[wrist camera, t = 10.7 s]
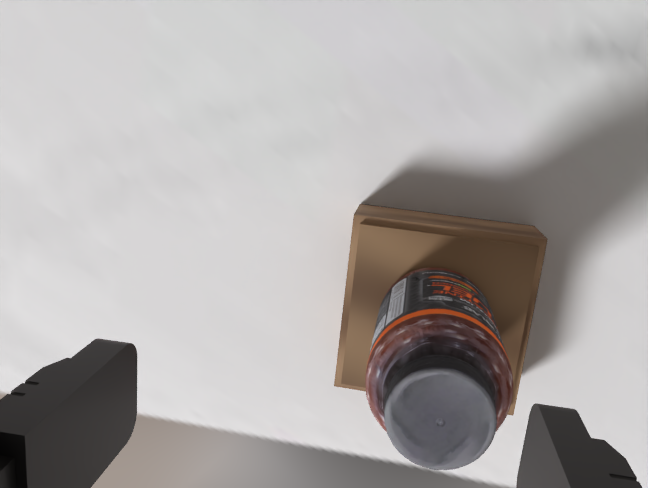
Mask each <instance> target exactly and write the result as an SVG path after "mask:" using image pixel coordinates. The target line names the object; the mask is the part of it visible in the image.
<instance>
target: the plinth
mask: <svg viewBox="0 0 648 488" xmlns="http://www.w3.org/2000/svg"><path fill="white" fill-rule="evenodd" d="M546 244H547V238H546V237H545V236H544V235H543V234H542V233H541V232H540V231H539V230H538V229H537V228H536V227H535V226H530V225H522V224H514V223H506V222H498V221H490V220H482V219H475V218H467V217H459V216H451V215H443V214H435V213H427V212H419V211H411V210H403V209H395V208H387V207H379V206H371V205H363V204H360V205H359V207H358V209H357V210H356V212H355V214H354V219H353V227H352V236H351V245H350V253H349V262H348V271H347V279H346V288H345V297H344V305H343V314H342V322H341V331H340V340H339V348H338V357H337V366H336V374H335V383H334V386H337V387H343V388H349V389H355V390H361V391H366V387H365V376H366V369H367V364H368V358H369V354H370V349H371V345H372V340H373V335H374V330H375V326H376V322H377V317H378V313H379V309H380V305H381V303H382V301H383V298H384V296H385V294H386V293H387V291H388V290H389V288H390V287H391V286H392V285H393V284H394V283H395V282H396V281H397V280H398V279H400V278H401V277H403V276H405V275H406V274H408V273H410V272H412V271H415V270H418V269H421V268H445V269H449V270H453V271H456V272H458V273H460V274H462V275H464V276H465V277H467V278H469V279H470V280H471V281H472V282H473V283H474V284H475V285H476V286H478V287H479V289H480V290H481V291H482V293H483V294H484V296H485V297H486V299H487V301H488V303H489V305H490V307H491V310H492V313H493V316H494V319H495V322H496V325H497V328H498V331H499V334H500V336H501V339H502V342H503V345H504V348H505V350H506V353H507V356H508V359H509V363H510V366H511V369H512V375H513V397H512V402H511V405H510V409H509V412H508V413H507V414H508V415H513V414H514V409H515V404H516V399H517V394H518V388H519V383H520V378H521V373H522V368H523V363H524V358H525V352H526V347H527V342H528V337H529V332H530V327H531V321H532V316H533V311H534V306H535V301H536V296H537V291H538V285H539V280H540V275H541V270H542V265H543V260H544V255H545V249H546Z"/></svg>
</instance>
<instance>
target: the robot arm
mask: <svg viewBox="0 0 648 488" xmlns="http://www.w3.org/2000/svg"><path fill="white" fill-rule="evenodd" d="M136 415H137V351H136V348H135V346H134V345H133V344H131V343H125V342H118V341H111V340H104V339H95V340H94V341H92V342H91V343H90V344H89V345H87V346H86V347H85V348H83V349H82V350H81V351H80V352H78V353H77V354H76V355H75V356H73V357H72V358H66V359H63V360H61V361H58V362H56V363H53V364H51V365H48V366H46V367H43V368H42V369H40V370H39V371H38V372H36V373H35V374H34V375H32V376H31V377H30V378H28V379H27V380H26V382H25V384H24V383H22V384H20V385H19V386H18V387H16V388H15V389H14V390H12V391H11V394H7V395H6V396H4V397H3V398H2V399H1V400H0V488H91V487H92V485H93V484H94V483H95V482H96V480H97V479H98V478H99V477H100V475H101V474H102V473H103V472H104V471H105V469H106V468H107V467H108V465H109V464H110V463H111V462H112V461H113V459H114V458H115V457H116V456H117V455H118V453H119V452H120V451H121V450H122V448H123V447H124V446H125V445H126V443H127V442H128V440H129V438H130V437H131V434H132V432H133V429H134V425H135V421H136ZM636 479H637V478H636V476H635V474H634V472H633V471H632V469H631V467H630V465H629V464H628V462H627V460H626V458H624V457H623V456H622V455H621V454H620V453H619V452H617V451H616V450H615V449H614V448H613V447H612V446H611V445H609V444H608V443H607V442H606V441H605V440H600V439H594V438H591V437H590V435H589V433H588V431H587V429H586V428H585V426H584V424H583V422H582V420H581V418H580V416H579V414H578V412H577V411H576V410H575V409H569V408H563V407H556V406H549V405H542V404H534V405H533V406H532V409H531V411H530V415H529V420H528V425H527V430H526V435H525V440H524V445H523V450H522V455H521V461H520V466H519V471H518V477H517V488H642V486H641V485H640V483H639V482H637V481H636Z"/></svg>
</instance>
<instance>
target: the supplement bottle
mask: <svg viewBox="0 0 648 488" xmlns="http://www.w3.org/2000/svg"><path fill="white" fill-rule="evenodd" d="M365 387H366V395H367V400H368V403H369V405H370V408H371V411H372V413H373V415H374V417H375V418H376V420H377V421H378V422H379V424H380V425H381V426H382V428H383V429H384V430H385V431H386V432H387V434H388V436H389V438H390V440H391V442H392V443H393V445H394V446H395V448H396V449H397V450H398V451H399V452H400V453H401V454H402V455H403V456H404V457H405V458H407V459H409V460H410V461H411V462H413V463H415V464H417V465H421V466H423V467H426V468H429V469H434V470H449V469H456V468H459V467H463V466H465V465H468V464H470V463H472V462H473V461H475V460H476V459H478V458H479V457H480V456H481V455H482V454H483V453H484V452H485V451H486V450H487V449H488V447H489V446H490V444H491V442H492V440H493V438H494V435H495V432H496V431H497V430H498V428H499V427H500V426H501V424H502V423H503V421H504V419H505V418H506V416H507V413H508V412H509V409H510V405H511V402H512V397H513V375H512V369H511V366H510V363H509V359H508V356H507V353H506V350H505V348H504V345H503V342H502V339H501V336H500V334H499V331H498V328H497V325H496V322H495V319H494V316H493V313H492V310H491V307H490V305H489V303H488V301H487V299H486V297H485V296H484V294H483V293H482V291H481V290H480V289H479V287H478V286H476V285H475V284H474V283H473V282H472V281H471V280H470V279H469V278H467V277H465V276H464V275H462V274H460V273H458V272H456V271H453V270H449V269H445V268H421V269H418V270H415V271H412V272H410V273H408V274H406V275H405V276H403V277H401V278H400V279H398V280H397V281H396V282H395V283H394V284H393V285H392V286H391V287H390V288H389V290H388V291H387V293H386V294H385V296H384V298H383V301H382V303H381V305H380V309H379V313H378V317H377V322H376V326H375V330H374V335H373V340H372V345H371V349H370V354H369V358H368V364H367V369H366V376H365Z"/></svg>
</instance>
